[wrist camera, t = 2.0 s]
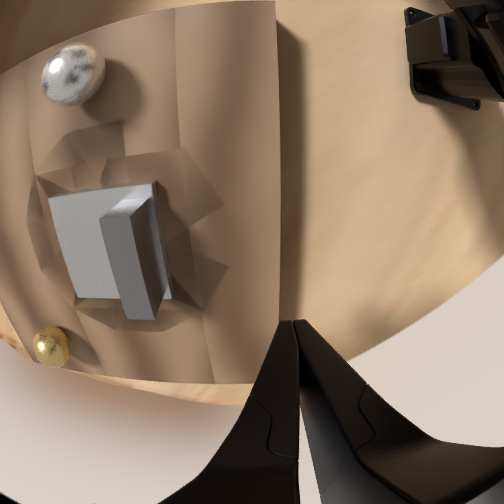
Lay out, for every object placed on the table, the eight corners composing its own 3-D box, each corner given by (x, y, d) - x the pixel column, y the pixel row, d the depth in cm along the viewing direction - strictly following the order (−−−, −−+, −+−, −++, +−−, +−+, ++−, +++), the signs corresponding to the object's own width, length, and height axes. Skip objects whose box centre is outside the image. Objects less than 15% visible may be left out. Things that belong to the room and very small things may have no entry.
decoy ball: (67, 318, 19) (48, 348, 16) (83, 350, 20) (68, 379, 17) (38, 315, 19) (19, 342, 16) (54, 345, 20) (38, 372, 17)
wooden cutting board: (270, 15, 12) (274, 0, 10) (274, 360, 24) (276, 382, 22) (-27, 104, 12) (-46, 107, 10) (43, 346, 24) (33, 361, 22)
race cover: (155, 180, 14) (131, 200, 11) (174, 291, 17) (161, 330, 14) (55, 194, 14) (20, 215, 11) (82, 290, 17) (59, 323, 14)
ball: (116, 40, 11) (85, 26, 7) (117, 98, 12) (84, 97, 9) (64, 58, 11) (28, 52, 7) (66, 112, 12) (28, 117, 9)
